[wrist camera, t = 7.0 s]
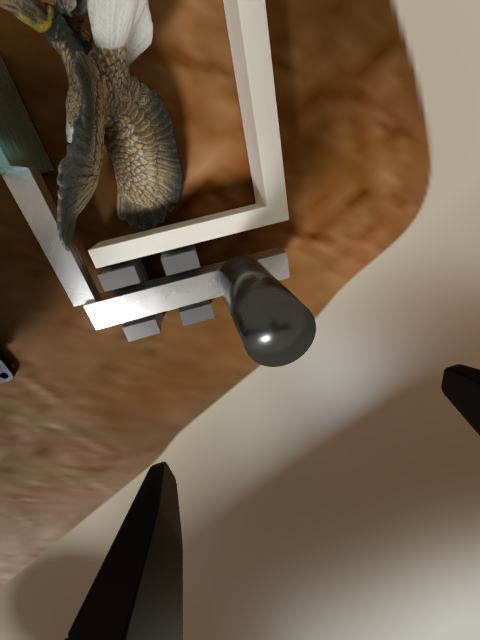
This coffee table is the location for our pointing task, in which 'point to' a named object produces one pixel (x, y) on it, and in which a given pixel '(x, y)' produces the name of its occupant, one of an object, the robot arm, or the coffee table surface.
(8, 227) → the coffee table surface
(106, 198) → the coffee table surface
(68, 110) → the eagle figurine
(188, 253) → the cradle
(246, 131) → the frame
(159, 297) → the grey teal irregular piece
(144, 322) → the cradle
